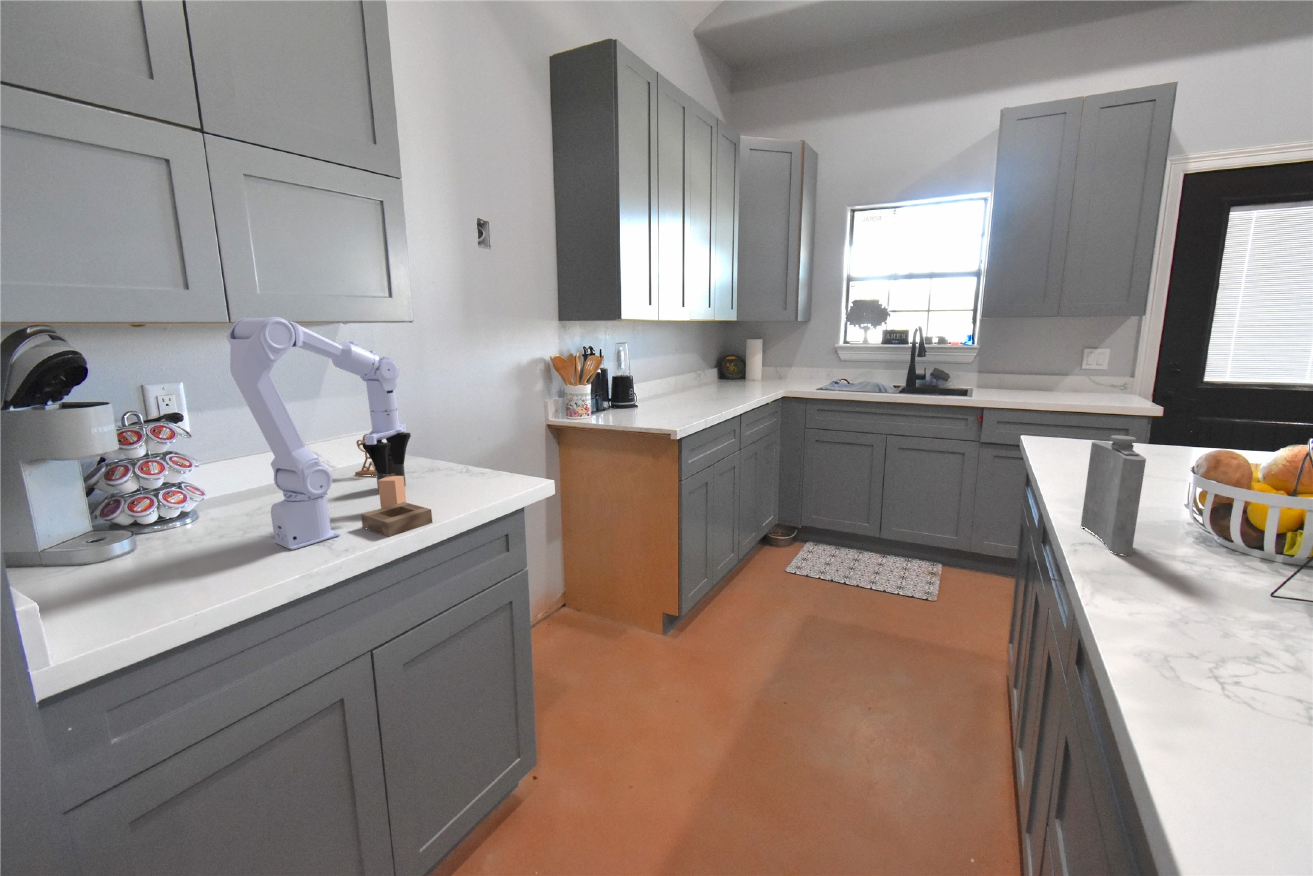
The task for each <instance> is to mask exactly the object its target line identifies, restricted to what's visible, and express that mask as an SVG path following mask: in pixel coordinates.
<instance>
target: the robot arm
mask: <svg viewBox="0 0 1313 876" xmlns="http://www.w3.org/2000/svg"><path fill="white" fill-rule="evenodd" d="M227 333H228V334H227V335H226V339H227V342H228V343H229V345H230V359H229V361H230V362H229V364H230V366H229V367H230V368H229V370H230V373H231V377H232V378H233V380H234V382H235V384H236V386H237V388H238V389H239V392H240V393H241V395H242V397H243V398H244V401H245V402H246V404H247V405H246V406H248V409H249V411H250V413H251V414H252V416H253V418H254V420H255V422H256V424H257V426H258V427H259V429H260V431H261V433H262V435H263V436H264V439H265V441H266V442H267V445H268V446H269V448H270V450H271V453H272V454H273V456H274V458H273V460H272V461H271V462H270V466H271V468H272V470H273V482H274V485H275V487H276V488H277V489H278V490H280V491H282V497H284V499H282V500H281V501H278V502H275V503H273V504H272V505H271V507H270V518H271V522H272V523H271V524H272V529H273V536H274V539H273V543H275V544H277V545H279V546H282V547H285V548H287V549H289V550H296V549H300V548H303V547H306V546H309V545H312V544H315V543H319V542H323V541H325V540H326V541H327V540H329V539H333V538H337V537H339V536H341V532H340V531H336V530H333V529H331V528H332V526H331V521H330V520H331V519H330V513H329V505H328V504H329V503H328V497H327V496H328V491H329V490H330V489H331V486H332V484H333V474H332V472H331V471H330V469H329V468H328V467H326V466H325V465H324V464H323V463H322V462H321V460H320V458H319V457H318V455H316V454H315V453H313V451H311V450H310V449H308V448H307V447H306V445H305V444H304V440H303V439H302V437H301V435H300V433H299V430H298V429H297V427H296V425H295V423H294V420H293V419H292V417H291V415H290V412H289V411H288V409H287V407H286V404H285V403H284V400H283V399H282V396H281V394H280V392H279V391H278V388H277V386H276V384H275V382H274V380H273V378H272V376H271V371H272V369H273V368H274V366H275V365H276V363H277V362H278V361H279V360H280V359H281V358H283V356H284V355H286V353H287V352H288V351H290V350H291V348H299V349H303V350H305V351H307V352H311V353H314V354H317V355H319V356H322V357H325V358H327V359H330V360H331V361H332V364H333V366H334V367H335V368H337V369H339V370H342V371H346V372H348V373H351V374H354V375H356V376H358V377H359V378H360V379H361V380H362V381H364V382H365V385H366V392H367V401H368V406H369V407H368V408H369V414H370V416H369V417H370V424H371V429H372V430H371V431H369V432H368V433H367V434H368V435H366V436H365V443H363V444H362V445H363V446H362V445H361V446H362V449H363V450H365V451H366V452H367V455H368V457H369V456H370V458H371V459H370V461H372V462H373V464H374V466H375V469H376V471H377V473H387V472H388V453H389V448H390V450H391V455H392V459H393V462H394V464H404V465H405V459H406V458H405V457H406V452H407V451H406V450H407V447H408V443H409V441H410V438H411V436H412V435H411V434H412V433H411V432H407V426H406V425H407V424H406V423H405V422H403V423H402V422H400V418H399V411H398V401H397V392H396V387H397V380H398V377H399V374H400V368H398V366H397V364H396V363H395V361H394V360H393V359H392V358H390V357H388V356H379V355H377V352H376V351H374V350H367V349H364V348H363V347H360V346H358V345H359V343H358V342H355V341H353V340H352V341H343V342H341V343H337V342H334V341H332V340H330V339H328V338H326V337H324V336H321V335H320V334H318V333H317V332H314V331H312V330H310V329H307V328H306V327H303V326H301V325H300V324H298V323H297V322H293V321H290V320H289V321H288V320H286V319H285V318H282V317H280V316H271V317H257V318H255V317H253V318H252V317H242V318H240V319H238V320H236V321H235V322H234V324H232V326H231V328H230V330H229V332H227ZM383 440H386V442H387V443H385V442H384V441H383Z"/></svg>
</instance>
